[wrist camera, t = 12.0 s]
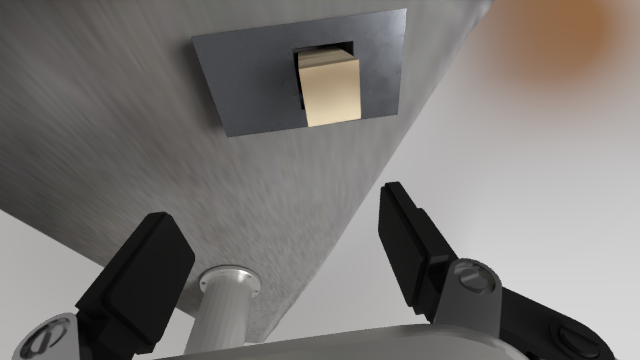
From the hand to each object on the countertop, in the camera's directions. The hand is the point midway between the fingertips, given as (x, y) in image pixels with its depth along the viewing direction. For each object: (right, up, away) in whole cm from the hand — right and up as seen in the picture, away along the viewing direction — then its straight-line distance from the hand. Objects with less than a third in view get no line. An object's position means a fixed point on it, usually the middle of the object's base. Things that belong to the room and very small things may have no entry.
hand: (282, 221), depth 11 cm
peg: (+2, +15, +18) cm, 23 cm away
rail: (0, +15, +18) cm, 23 cm away
